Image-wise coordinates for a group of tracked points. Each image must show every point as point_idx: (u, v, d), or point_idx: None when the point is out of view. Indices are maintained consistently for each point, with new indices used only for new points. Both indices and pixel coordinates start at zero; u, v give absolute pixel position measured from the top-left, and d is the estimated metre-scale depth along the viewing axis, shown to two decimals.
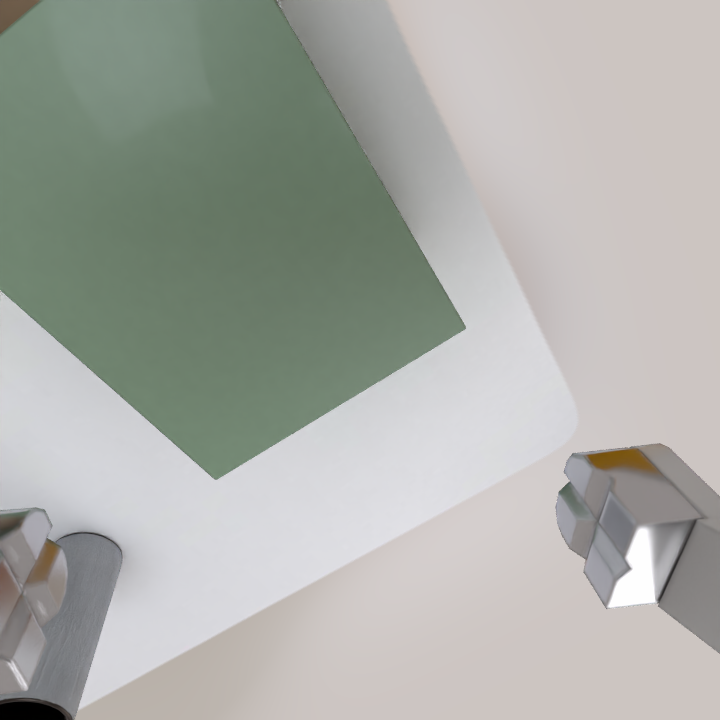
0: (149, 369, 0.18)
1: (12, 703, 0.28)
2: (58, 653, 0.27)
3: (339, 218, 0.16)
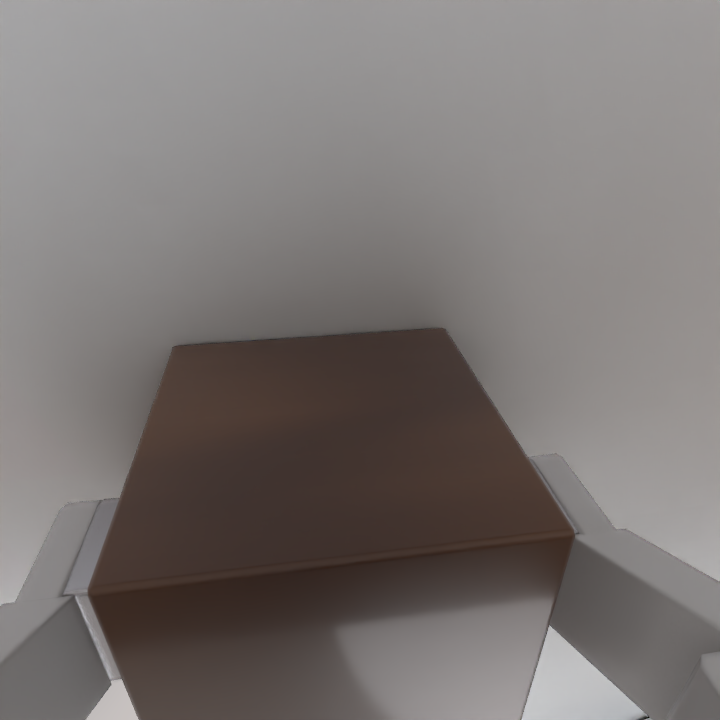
0: None
1: None
2: None
3: None
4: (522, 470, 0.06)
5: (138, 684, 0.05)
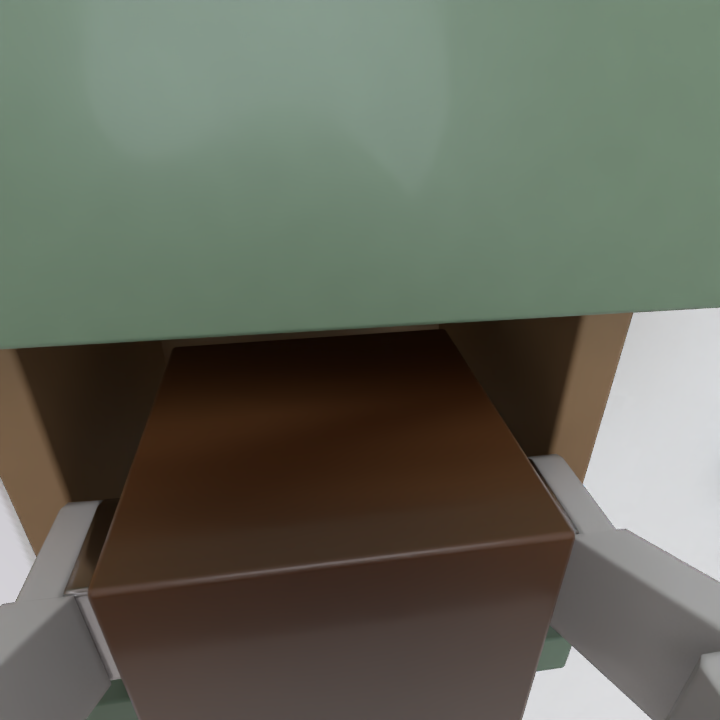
0: None
1: None
2: None
3: None
4: (522, 470, 0.06)
5: (138, 685, 0.05)
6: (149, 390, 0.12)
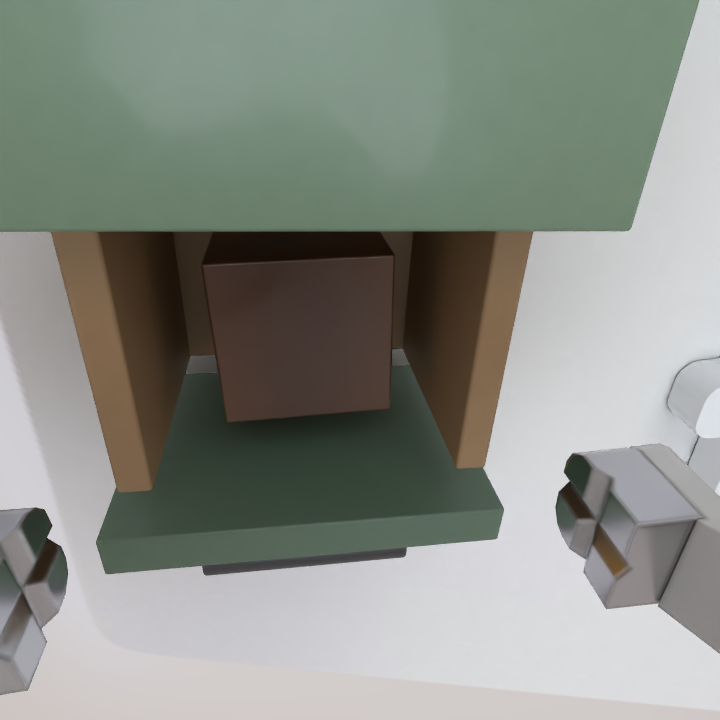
0: None
1: None
2: None
3: None
4: (381, 243, 0.13)
5: (216, 320, 0.12)
6: (171, 311, 0.15)
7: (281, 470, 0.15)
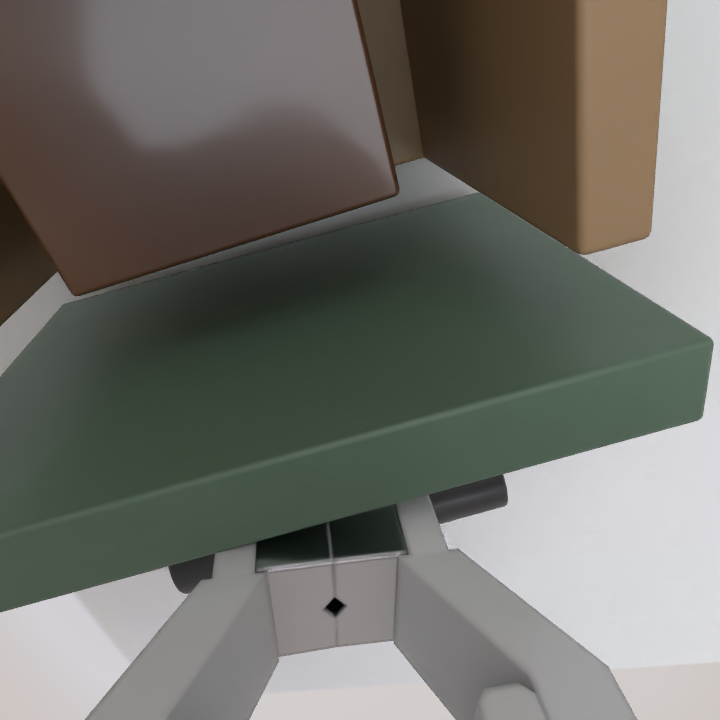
0: None
1: None
2: None
3: None
4: None
5: None
6: None
7: (222, 379, 0.08)
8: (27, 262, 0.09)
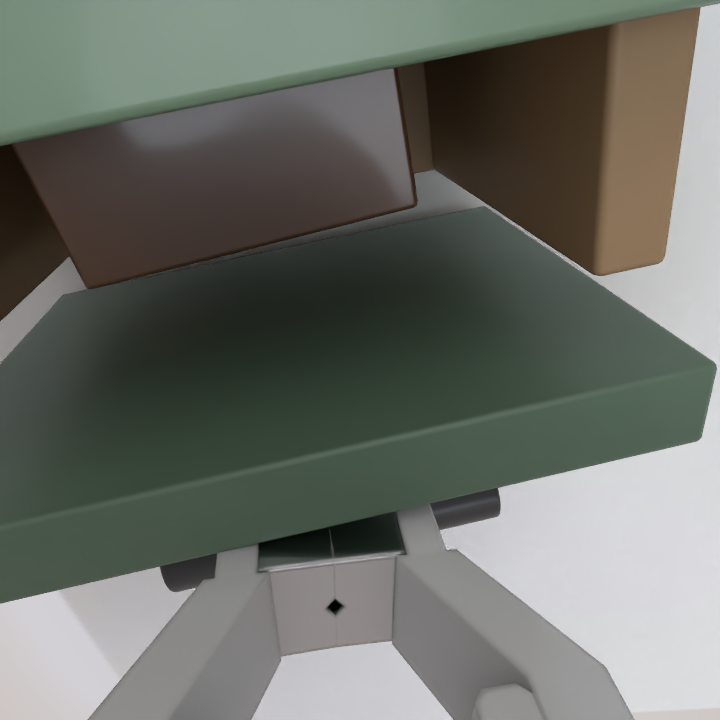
0: None
1: None
2: None
3: None
4: None
5: None
6: None
7: (230, 378, 0.08)
8: (35, 251, 0.09)
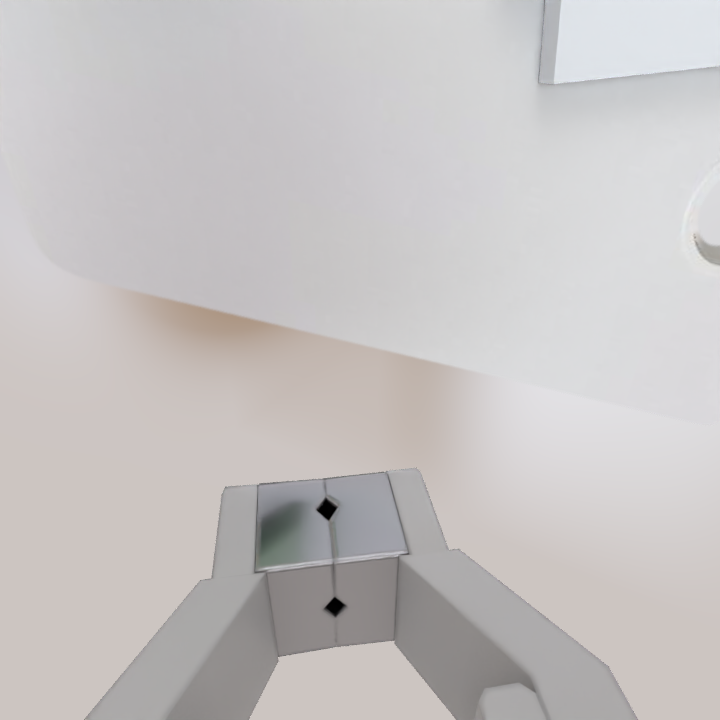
0: None
1: None
2: None
3: None
4: None
5: None
6: None
7: None
8: None
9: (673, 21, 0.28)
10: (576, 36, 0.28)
